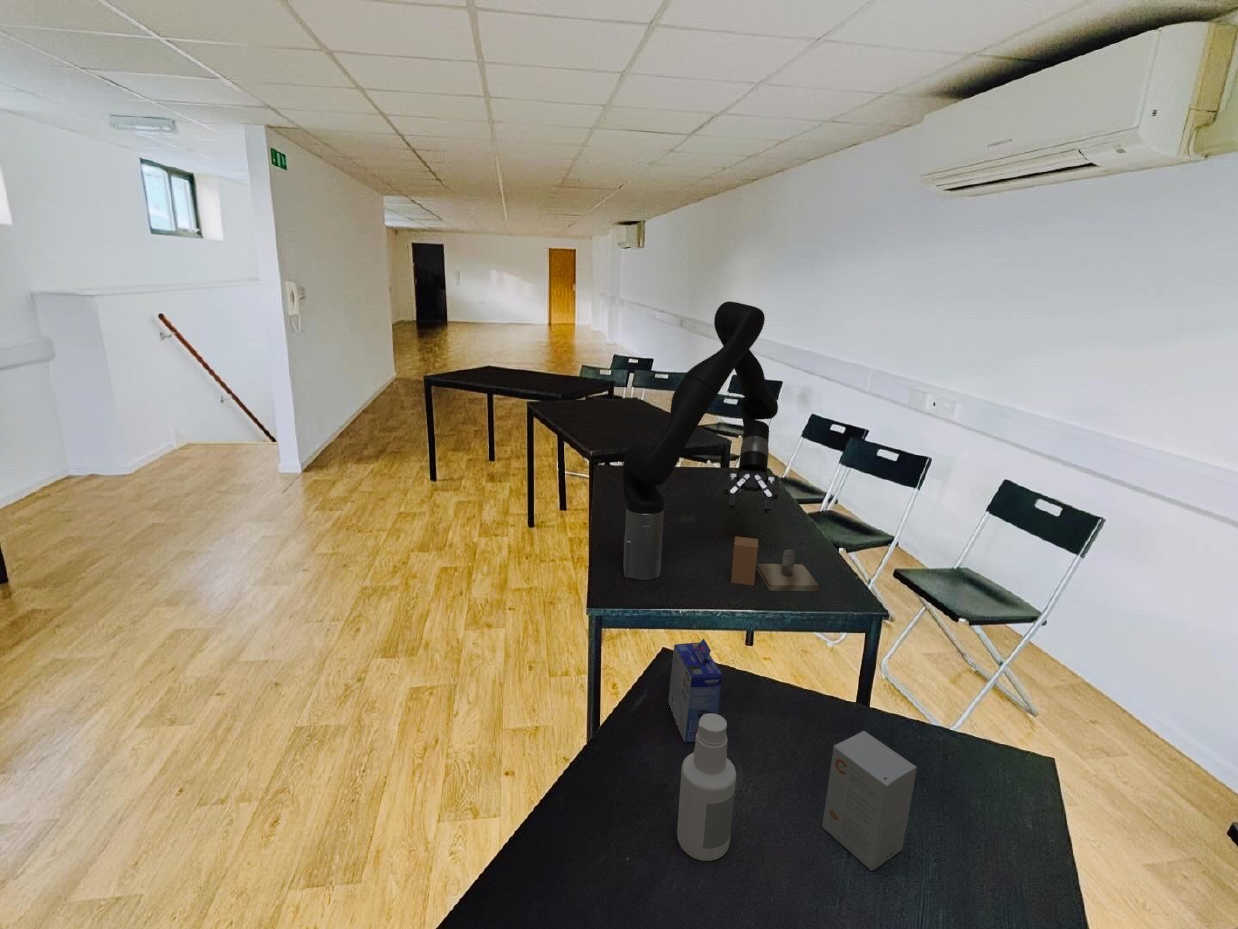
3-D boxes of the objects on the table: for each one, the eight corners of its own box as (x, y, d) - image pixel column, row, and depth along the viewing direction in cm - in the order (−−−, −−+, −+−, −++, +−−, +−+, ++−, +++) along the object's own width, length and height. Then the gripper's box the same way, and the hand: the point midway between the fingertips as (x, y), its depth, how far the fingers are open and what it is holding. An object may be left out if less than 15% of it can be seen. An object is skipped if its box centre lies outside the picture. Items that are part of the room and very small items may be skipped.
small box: (903, 851, 82) (919, 767, 78) (871, 873, 78) (887, 786, 75) (851, 808, 88) (864, 728, 85) (820, 827, 85) (832, 745, 82)
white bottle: (729, 867, 79) (741, 745, 74) (674, 857, 80) (683, 736, 75) (729, 823, 85) (740, 708, 80) (679, 815, 86) (687, 701, 81)
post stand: (769, 590, 152) (772, 559, 150) (756, 569, 164) (759, 540, 161) (818, 591, 153) (822, 560, 150) (802, 569, 164) (805, 540, 162)
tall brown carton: (730, 582, 155) (734, 544, 153) (732, 573, 161) (735, 536, 158) (754, 585, 154) (757, 547, 152) (754, 575, 160) (758, 539, 157)
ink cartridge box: (718, 741, 100) (725, 661, 97) (684, 745, 99) (690, 664, 95) (697, 702, 110) (703, 628, 106) (667, 705, 109) (672, 630, 105)
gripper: (727, 447, 170) (721, 500, 163) (782, 451, 167) (778, 506, 160) (727, 461, 177) (721, 513, 169) (779, 465, 174) (776, 519, 166)
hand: (749, 510), depth 164 cm, fingers open, 8 cm apart
